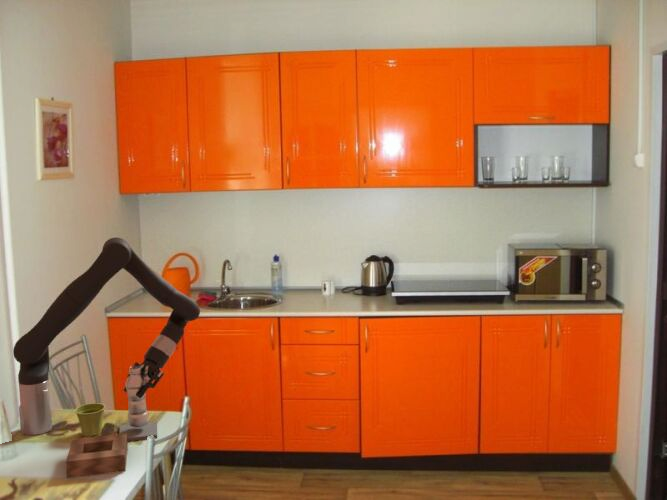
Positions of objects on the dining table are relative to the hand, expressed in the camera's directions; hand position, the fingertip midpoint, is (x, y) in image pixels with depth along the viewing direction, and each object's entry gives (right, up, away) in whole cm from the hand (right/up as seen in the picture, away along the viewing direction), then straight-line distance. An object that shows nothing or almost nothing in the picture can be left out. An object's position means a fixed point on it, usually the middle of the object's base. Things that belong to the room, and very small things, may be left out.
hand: (132, 394), depth 221 cm
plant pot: (-14, -14, +3) cm, 20 cm away
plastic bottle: (+1, -11, +3) cm, 12 cm away
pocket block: (-4, -16, -19) cm, 25 cm away
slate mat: (+1, -13, +3) cm, 14 cm away
